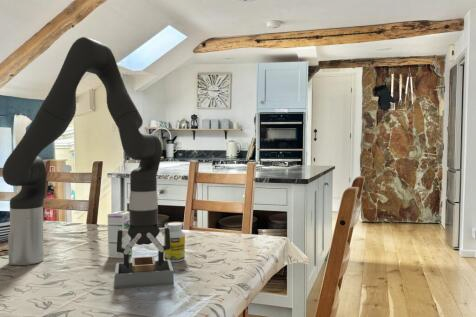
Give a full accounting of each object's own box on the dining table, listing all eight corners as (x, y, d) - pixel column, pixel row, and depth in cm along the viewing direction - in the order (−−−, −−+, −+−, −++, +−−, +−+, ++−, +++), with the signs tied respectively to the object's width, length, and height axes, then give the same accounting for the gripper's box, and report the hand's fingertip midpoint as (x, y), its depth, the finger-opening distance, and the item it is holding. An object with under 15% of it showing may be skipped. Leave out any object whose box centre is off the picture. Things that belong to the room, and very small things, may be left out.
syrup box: (124, 258, 134) (124, 214, 133) (107, 257, 135) (107, 213, 134) (132, 254, 139) (132, 211, 139) (116, 253, 141) (115, 210, 140)
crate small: (132, 283, 109) (132, 266, 109) (132, 273, 117) (132, 257, 117) (155, 281, 110) (155, 264, 110) (154, 271, 119) (153, 256, 118)
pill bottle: (165, 263, 129) (165, 226, 128) (163, 257, 135) (163, 222, 134) (186, 262, 130) (186, 225, 130) (183, 256, 137) (183, 221, 136)
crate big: (114, 288, 107) (114, 275, 106) (116, 275, 117) (116, 262, 117) (173, 283, 110) (173, 270, 110) (169, 271, 121) (169, 259, 121)
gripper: (115, 210, 108) (116, 272, 108) (171, 208, 111) (171, 268, 112) (116, 205, 115) (117, 263, 115) (168, 204, 118) (169, 260, 119)
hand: (143, 266), depth 114 cm, fingers open, 8 cm apart
